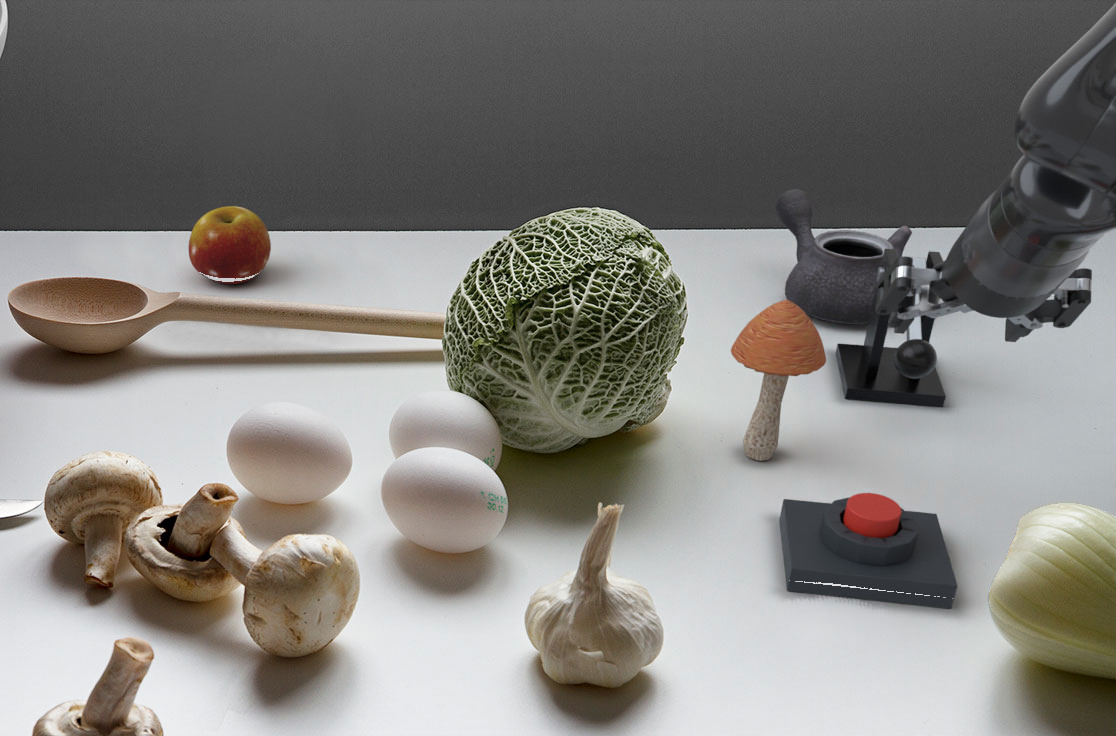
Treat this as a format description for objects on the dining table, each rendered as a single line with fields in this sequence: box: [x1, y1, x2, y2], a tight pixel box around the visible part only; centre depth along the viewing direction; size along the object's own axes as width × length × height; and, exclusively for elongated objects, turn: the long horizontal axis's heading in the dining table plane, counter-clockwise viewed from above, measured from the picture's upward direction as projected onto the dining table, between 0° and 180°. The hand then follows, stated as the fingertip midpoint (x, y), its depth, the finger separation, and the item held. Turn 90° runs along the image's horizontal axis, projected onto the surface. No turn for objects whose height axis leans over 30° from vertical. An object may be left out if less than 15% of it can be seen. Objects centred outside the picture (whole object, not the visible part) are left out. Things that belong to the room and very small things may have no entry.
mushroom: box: [730, 299, 827, 462], centre depth 113 cm, size 8×8×15 cm
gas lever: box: [894, 255, 938, 379], centre depth 120 cm, size 13×4×4 cm, turn 169°
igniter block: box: [778, 496, 958, 610], centre depth 102 cm, size 12×10×4 cm
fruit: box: [188, 205, 272, 285], centre depth 150 cm, size 10×9×8 cm
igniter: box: [843, 492, 902, 538], centre depth 100 cm, size 4×4×2 cm
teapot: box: [775, 188, 913, 325], centre depth 143 cm, size 19×15×10 cm
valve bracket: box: [835, 249, 947, 408], centre depth 125 cm, size 10×9×13 cm
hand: (953, 326), depth 105 cm, fingers open, 8 cm apart
